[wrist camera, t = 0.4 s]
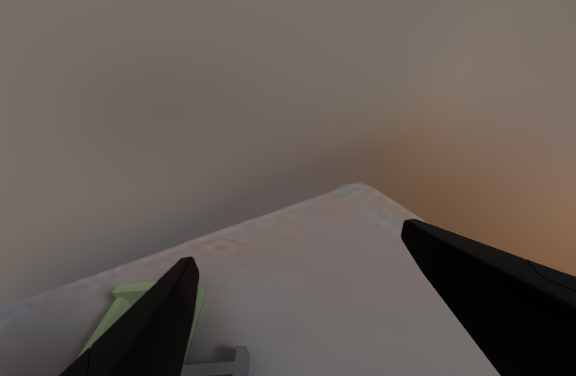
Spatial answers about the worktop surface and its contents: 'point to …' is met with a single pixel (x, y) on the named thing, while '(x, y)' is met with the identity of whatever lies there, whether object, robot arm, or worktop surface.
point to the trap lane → (230, 372)
